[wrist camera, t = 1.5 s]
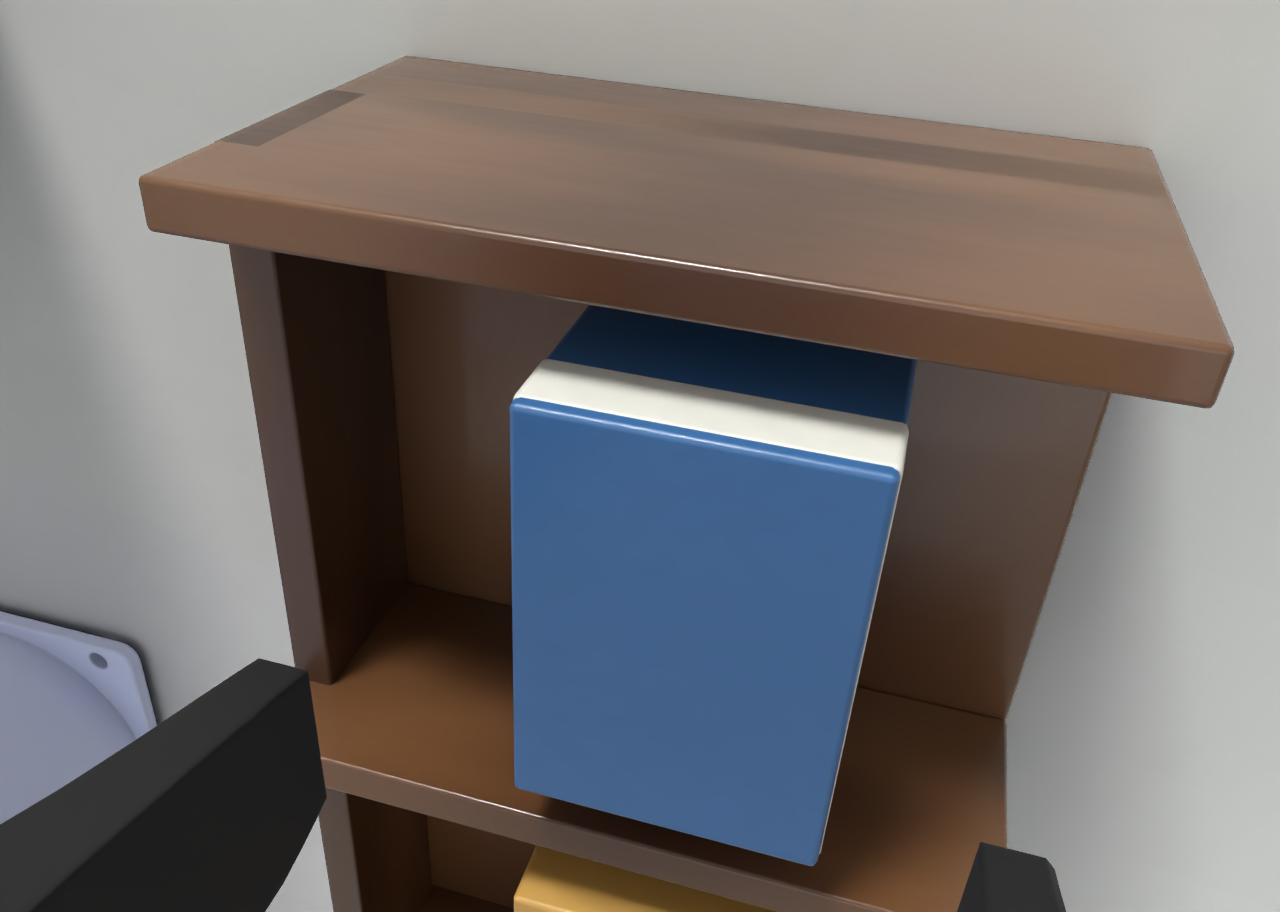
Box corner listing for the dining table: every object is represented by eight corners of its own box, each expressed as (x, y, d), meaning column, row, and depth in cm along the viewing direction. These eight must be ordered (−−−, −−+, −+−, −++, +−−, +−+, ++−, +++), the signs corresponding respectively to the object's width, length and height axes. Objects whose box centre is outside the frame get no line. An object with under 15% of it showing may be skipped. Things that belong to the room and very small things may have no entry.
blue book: (611, 582, 20) (510, 790, 16) (628, 247, 16) (504, 400, 12) (856, 637, 19) (816, 872, 15) (928, 294, 16) (903, 478, 11)
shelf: (449, 816, 29) (312, 1072, 23) (403, 54, 18) (133, 175, 13) (910, 943, 26) (885, 1265, 21) (1153, 147, 16) (1238, 348, 10)
